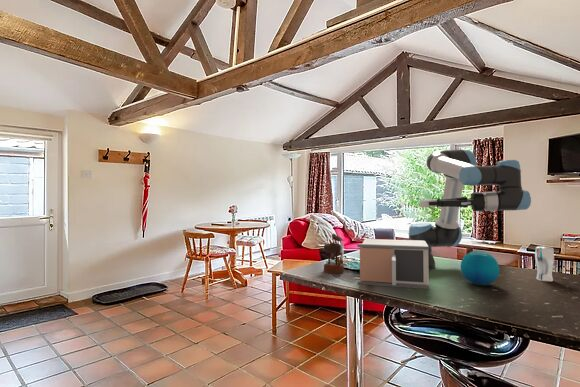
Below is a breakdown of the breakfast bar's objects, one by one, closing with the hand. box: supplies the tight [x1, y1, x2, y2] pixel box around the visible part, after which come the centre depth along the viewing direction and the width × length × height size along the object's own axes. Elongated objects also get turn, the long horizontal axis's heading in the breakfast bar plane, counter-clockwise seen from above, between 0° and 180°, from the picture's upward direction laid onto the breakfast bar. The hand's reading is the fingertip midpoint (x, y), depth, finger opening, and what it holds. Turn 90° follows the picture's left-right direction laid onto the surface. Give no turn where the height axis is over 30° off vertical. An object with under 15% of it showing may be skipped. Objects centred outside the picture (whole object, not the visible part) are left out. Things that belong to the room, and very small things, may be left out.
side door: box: [359, 247, 396, 285], centre depth 144 cm, size 16×14×15 cm
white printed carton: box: [534, 245, 555, 283], centre depth 154 cm, size 7×7×15 cm
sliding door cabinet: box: [356, 238, 430, 290], centre depth 156 cm, size 30×18×18 cm, turn 73°
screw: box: [339, 241, 347, 263], centre depth 193 cm, size 13×5×5 cm
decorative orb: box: [460, 250, 500, 287], centre depth 148 cm, size 15×15×15 cm
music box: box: [318, 233, 345, 275], centre depth 176 cm, size 15×11×20 cm
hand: (419, 203), depth 140 cm, fingers closed
